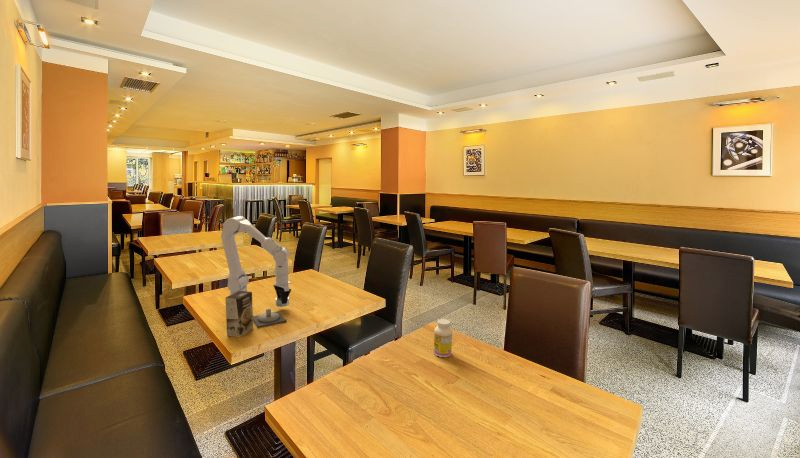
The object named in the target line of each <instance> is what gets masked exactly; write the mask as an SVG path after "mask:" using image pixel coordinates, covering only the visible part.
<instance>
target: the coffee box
mask: <svg viewBox="0 0 800 458" xmlns="http://www.w3.org/2000/svg"><path fill="white" fill-rule="evenodd" d="M224 299H225V321H226V322H225V323H226V336H228V337H229V336H230V337H236V338H241V337H243V336H244V335H245V334H247V333H248V332H250V331H251V330H253V329H254V321H253V316H254V314H253V313H254V312H253V309H254V307H253V306H254V305H253V292H252V291H249V290H247V291H238V292H236V293H234V294H232V295H230V294H229V295H228V296H226V297H224Z"/></svg>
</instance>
